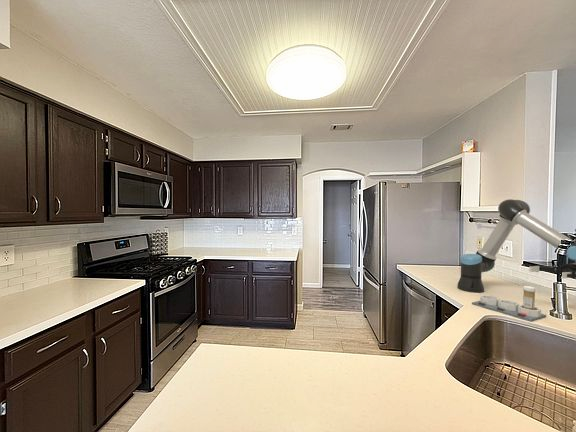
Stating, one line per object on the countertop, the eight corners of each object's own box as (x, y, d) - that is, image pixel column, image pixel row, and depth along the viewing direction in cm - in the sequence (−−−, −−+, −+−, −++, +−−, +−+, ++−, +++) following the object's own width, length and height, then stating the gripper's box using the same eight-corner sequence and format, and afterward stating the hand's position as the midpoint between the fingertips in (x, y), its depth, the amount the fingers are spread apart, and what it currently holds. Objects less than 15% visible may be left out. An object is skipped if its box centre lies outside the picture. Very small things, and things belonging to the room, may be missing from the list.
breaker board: (471, 304, 154) (471, 297, 154) (487, 300, 161) (487, 294, 161) (531, 321, 130) (531, 313, 130) (546, 317, 137) (546, 309, 137)
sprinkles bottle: (536, 314, 137) (537, 287, 137) (529, 315, 136) (530, 288, 136) (527, 311, 141) (527, 285, 141) (520, 312, 140) (521, 285, 140)
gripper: (604, 284, 134) (575, 286, 128) (544, 272, 158) (518, 273, 152) (605, 268, 134) (576, 270, 128) (545, 259, 158) (518, 260, 152)
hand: (544, 272), depth 140 cm, fingers open, 13 cm apart
